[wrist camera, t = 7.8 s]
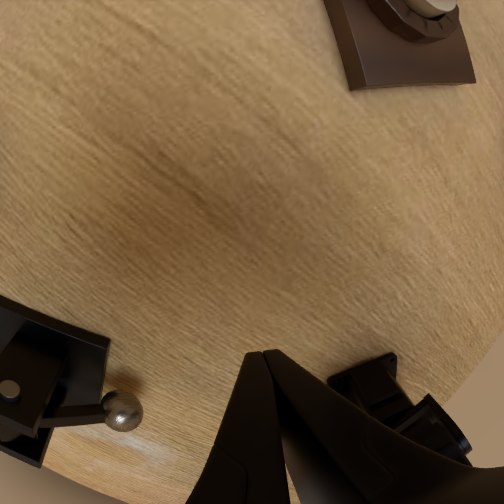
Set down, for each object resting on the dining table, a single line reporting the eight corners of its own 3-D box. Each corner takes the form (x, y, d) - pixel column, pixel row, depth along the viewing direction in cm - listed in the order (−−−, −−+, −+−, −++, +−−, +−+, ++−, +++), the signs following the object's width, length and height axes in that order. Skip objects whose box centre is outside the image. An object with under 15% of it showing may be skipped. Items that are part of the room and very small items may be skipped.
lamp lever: (135, 378, 21) (154, 410, 19) (129, 405, 22) (146, 436, 20) (-10, 383, 13) (-6, 423, 11) (-4, 413, 14) (3, 451, 12)
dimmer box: (457, 84, 18) (494, 82, 14) (350, 91, 17) (383, 82, 14) (412, -45, 14) (440, -62, 10) (299, -59, 13) (318, -88, 9)
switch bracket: (110, 338, 20) (79, 433, 12) (100, 408, 22) (80, 492, 14) (-5, 292, 18) (-68, 358, 10) (0, 368, 20) (-40, 436, 12)
